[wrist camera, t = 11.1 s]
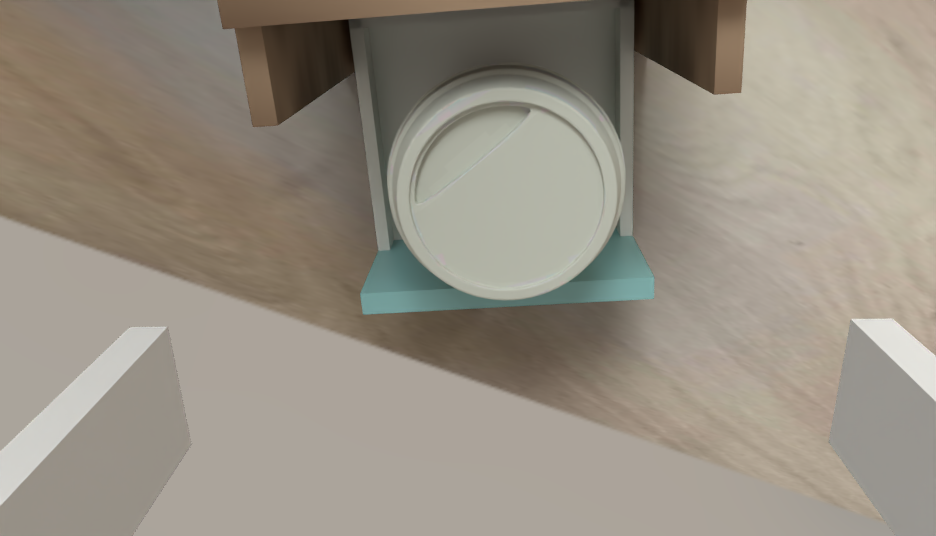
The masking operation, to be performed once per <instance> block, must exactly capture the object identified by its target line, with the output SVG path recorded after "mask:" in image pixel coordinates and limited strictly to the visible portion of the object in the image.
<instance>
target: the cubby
mask: <svg viewBox="0 0 936 536" xmlns="http://www.w3.org/2000/svg"><path fill="white" fill-rule="evenodd" d="M217 1H218V6H219V12H220V17H221V22H222V27H223V29H231V28H235V33H236V38H237V44H238V49H239V54H240V60H241V65H242V71H243V76H244V82H245V87H246V92H247V98H248V103H249V109H250V114H251V119H252V125H253V127H262V126H276V125H279V124H281V123H282V122H284V121H285V120H286V119H288V118H289V117H291V116H292V115H294V114H295V113H296V112H298V111H299V110H301V109H302V108H303V107H305V106H306V105H308V104H309V103H311V102H312V101H313V100H315V99H316V98H318V97H319V96H321V95H322V94H323V93H325V92H326V91H328V90H329V89H331V88H332V87H333V86H335V85H336V84H338V83H339V82H341V81H342V80H343V79H345V78H346V77H348V76H349V75H351V74H352V73H353V72H355V68H354V60H353V52H352V44H351V37H350V29H349V21H348V19H357V18H370V17H383V16H395V15H408V14H421V13H433V12H446V11H459V10H471V9H484V8H496V7H509V6H522V5H534V4H547V3H560V2H572V1H585V0H217ZM746 5H747V0H634V50H635V51H637V52H638V53H640V54H642V55H644V56H646V57H647V58H649V59H651V60H653V61H655V62H656V63H658V64H660V65H662V66H664V67H665V68H667V69H669V70H671V71H673V72H674V73H676V74H678V75H680V76H682V77H683V78H685V79H687V80H689V81H691V82H692V83H694V84H696V85H698V86H700V87H701V88H703V89H705V90H707V91H709V92H710V93H712V94H714V95H715V94H729V93H741V87H742V71H743V54H744V38H745V21H746Z"/></svg>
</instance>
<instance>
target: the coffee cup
mask: <svg viewBox="0 0 936 536" xmlns="http://www.w3.org/2000/svg"><path fill="white" fill-rule="evenodd" d="M625 181H626V173H625V161H624V155H623V151H622V147H621V143H620V140H619V138H618V135H617V133H616V130H615V128H614V126H613V124H612V122H611V121H610V119H609V117H608V116H607V114H606V113H605V111H604V110H603V109H602V107H601V106H600V105H599V104H598V103H597V101H596V100H595V99H594V98H593V97H592V96H591V95H590V94H589V93H588V92H586V91H585V90H584V89H583V88H582V87H580V86H579V85H578V84H576V83H575V82H573V81H572V80H570V79H568V78H566V77H565V76H563V75H561V74H559V73H556V72H554V71H551V70H549V69H546V68H543V67H539V66H535V65H531V64H524V63H514V62H501V63H491V64H484V65H480V66H476V67H472V68H469V69H466V70H463V71H461V72H459V73H456V74H454V75H452V76H450V77H448V78H447V79H445V80H443V81H442V82H440V83H439V84H437V85H436V86H434V87H433V88H432V89H431V90H429V91H428V92H427V93H426V94H425V95H424V96H423V97H422V98H421V99H420V100H419V101H418V102H417V103H416V104H415V105H414V106H413V108H412V109H411V110H410V112H409V113H408V114H407V116H406V117H405V119H404V121H403V122H402V124H401V126H400V128H399V130H398V132H397V134H396V137H395V139H394V142H393V145H392V148H391V152H390V156H389V162H388V171H387V188H388V196H389V203H390V208H391V212H392V216H393V219H394V222H395V224H396V227H397V229H398V231H399V233H400V235H401V237H402V239H403V241H404V243H405V244H406V246H407V247H408V249H409V250H410V251H411V253H412V254H413V255H414V256H415V257H416V259H417V260H418V261H419V262H420V263H421V264H422V265H423V266H424V267H425V268H427V269H428V270H429V271H430V272H431V273H433V274H434V275H435V276H436V277H438V278H439V279H441V280H442V281H443V282H445V283H446V284H448V285H450V286H452V287H454V288H455V289H457V290H460V291H462V292H465V293H467V294H470V295H473V296H476V297H481V298H486V299H492V300H520V299H526V298H532V297H535V296H539V295H542V294H545V293H548V292H550V291H552V290H555V289H557V288H559V287H560V286H562V285H564V284H566V283H567V282H569V281H570V280H572V279H573V278H575V277H576V276H577V275H578V274H580V273H581V272H582V271H583V270H584V269H585V268H586V267H587V266H588V265H589V264H590V263H592V261H593V260H594V259H595V258H596V257H597V256H598V255H599V254H600V252H601V251H602V250H603V248H604V247H605V246H606V244H607V243H608V241H609V239H610V237H611V236H612V234H613V232H614V230H615V228H616V225H617V223H618V220H619V217H620V214H621V211H622V207H623V201H624V195H625Z"/></svg>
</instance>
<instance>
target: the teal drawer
mask: <svg viewBox="0 0 936 536" xmlns="http://www.w3.org/2000/svg"><path fill="white" fill-rule="evenodd" d="M348 21H349V29H350V37H351V44H352V52H353V60H354V68H355V75H356V83H357V91H358V99H359V106H360V114H361V122H362V129H363V137H364V145H365V153H366V160H367V168H368V176H369V183H370V191H371V199H372V207H373V214H374V222H375V230H376V238H377V245H378V253H377V255H376V257H375V260H374V262H373V264H372V267H371V269H370V272H369V274H368V276H367V279H366V281H365V283H364V286H363V288H362V291H361V293H360V296H361V304H362V311H363V315H365V314H384V313H402V312H421V311H439V310H457V309H476V308H494V307H512V306H531V305H549V304H568V303H586V302H604V301H623V300H641V299H654V276H653V274H652V272H651V270H650V268H649V266H648V264H647V262H646V260H645V258H644V256H643V255H642V253H641V251H640V249H639V247H638V245H637V243H636V241H635V239H634V237H633V119H634V0H585V1H572V2H560V3H547V4H534V5H522V6H509V7H496V8H484V9H471V10H459V11H446V12H433V13H421V14H408V15H395V16H383V17H370V18H357V19H348ZM501 62H514V63H524V64H531V65H535V66H539V67H543V68H546V69H549V70H551V71H554V72H556V73H559V74H561V75H563V76H565V77H566V78H568V79H570V80H572V81H573V82H575V83H576V84H578V85H579V86H580V87H582V88H583V89H584V90H585V91H586V92H588V93H589V94H590V95H591V96H592V97H593V98H594V99H595V100H596V101H597V103H598V104H599V105H600V106H601V107H602V109H603V110H604V111H605V113H606V114H607V116H608V117H609V119H610V121H611V122H612V124H613V126H614V128H615V130H616V133H617V135H618V138H619V140H620V143H621V147H622V151H623V155H624V161H625V173H626V181H625V195H624V201H623V207H622V211H621V214H620V217H619V220H618V223H617V225H616V228H615V230H614V232H613V234H612V236H611V237H610V239H609V241H608V243H607V244H606V246H605V247H604V248H603V250H602V251H601V252H600V254H599V255H598V256H597V257H596V258H595V259H594V260H593V261H592V263H590V264H589V265H588V266H587V267H586V268H585V269H584V270H583V271H582V272H581V273H580V274H578V275H577V276H576V277H575V278H573V279H572V280H570V281H569V282H567V283H566V284H564V285H562V286H560V287H559V288H557V289H555V290H552V291H550V292H548V293H545V294H542V295H539V296H535V297H532V298H526V299H520V300H492V299H486V298H481V297H476V296H473V295H470V294H467V293H465V292H462V291H460V290H457V289H455V288H454V287H452V286H450V285H448V284H446V283H445V282H443V281H442V280H441V279H439V278H438V277H436V276H435V275H434V274H433V273H431V272H430V271H429V270H428V269H427V268H425V267H424V266H423V265H422V264H421V263H420V262H419V261H418V260H417V259H416V257H415V256H414V255H413V254H412V253H411V251H410V250H409V249H408V247H407V246H406V244H405V243H404V241H403V239H402V237H401V235H400V233H399V231H398V229H397V227H396V224H395V222H394V219H393V216H392V212H391V208H390V203H389V196H388V188H387V171H388V162H389V156H390V152H391V148H392V145H393V142H394V139H395V137H396V134H397V132H398V130H399V128H400V126H401V124H402V122H403V121H404V119H405V117H406V116H407V114H408V113H409V112H410V110H411V109H412V108H413V106H414V105H415V104H416V103H417V102H418V101H419V100H420V99H421V98H422V97H423V96H424V95H425V94H426V93H427V92H428V91H429V90H431V89H432V88H433V87H434V86H436V85H437V84H439V83H440V82H442V81H443V80H445V79H447V78H448V77H450V76H452V75H454V74H456V73H459V72H461V71H463V70H466V69H469V68H472V67H476V66H480V65H484V64H491V63H501Z"/></svg>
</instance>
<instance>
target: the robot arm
mask: <svg viewBox="0 0 936 536" xmlns="http://www.w3.org/2000/svg"><path fill="white" fill-rule="evenodd" d="M829 443H830V445H831V446H832V448H833V449H834V450H835V452H836V453H837V455H838V456H839V457H840V459H841V460H842V462H843V463H844V464H845V466H846V467H847V469H848V470H849V471H850V473H851V474H852V476H853V477H854V478H855V480H856V481H857V483H858V484H859V486H860V487H861V488H862V490H863V491H864V493H865V494H866V495H867V497H868V498H869V500H870V501H871V502H872V504H873V505H874V507H875V508H876V509H877V511H878V512H879V514H880V515H881V516H882V518H883V519H884V521H885V522H886V523H887V525H888V526H889V528H890V529H891V530H892V532H893V533H894V535H895V536H936V356H935V355H934V354H933V353H931V352H930V351H929V350H928V349H927V348H926V347H925V346H923V345H922V344H921V343H920V342H919V341H918V340H916V339H915V338H914V337H913V336H912V335H911V334H910V333H908V332H907V331H906V330H905V329H904V328H903V327H901V326H900V325H899V324H898V323H897V322H896V321H895V320H893V319H851V321H850V327H849V332H848V338H847V343H846V349H845V354H844V360H843V365H842V371H841V376H840V382H839V388H838V393H837V399H836V404H835V410H834V415H833V421H832V426H831V432H830V438H829ZM190 446H191V440H190V435H189V430H188V425H187V420H186V415H185V410H184V405H183V400H182V396H181V390H180V385H179V380H178V375H177V370H176V365H175V360H174V355H173V350H172V346H171V340H170V335H169V330H168V327H129V328H128V329H127V330H126V331H125V332H124V333H123V334H122V335H121V336H120V337H119V338H118V339H117V340H116V341H115V342H114V343H113V344H112V345H110V347H108V348H107V349H106V350H105V351H104V352H103V353H102V354H101V355H100V356H99V357H98V358H97V359H96V360H95V361H94V362H93V363H92V364H91V365H90V366H89V367H88V368H87V369H85V370H84V372H82V373H81V374H80V375H79V376H78V377H77V378H76V379H75V380H74V381H73V382H72V383H71V384H70V385H69V386H68V387H67V388H66V389H65V390H64V391H63V392H61V394H60V395H58V396H57V397H56V398H55V399H54V400H53V401H52V402H51V403H50V404H49V405H48V406H47V407H46V408H45V409H44V410H43V411H42V412H41V413H40V414H39V415H38V416H37V417H35V418H34V419H33V421H31V422H30V423H29V424H28V425H27V426H26V427H25V428H24V429H23V430H22V431H21V432H20V433H19V434H18V435H17V436H16V437H15V438H14V439H13V440H11V442H9V444H7V445H6V446H5V447H4V448H3V449H2V450H1V451H0V536H132V535H133V534H134V532H135V531H136V529H137V527H138V526H139V525H140V523H141V522H142V520H143V519H144V517H145V515H146V514H147V512H148V511H149V509H150V508H151V506H152V505H153V503H154V501H155V500H156V498H157V497H158V495H159V494H160V492H161V491H162V489H163V488H164V486H165V485H166V483H167V482H168V480H169V478H170V477H171V475H172V474H173V472H174V471H175V469H176V468H177V466H178V465H179V463H180V462H181V460H182V458H183V457H184V455H185V454H186V452H187V451H188V449H189V447H190Z"/></svg>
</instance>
